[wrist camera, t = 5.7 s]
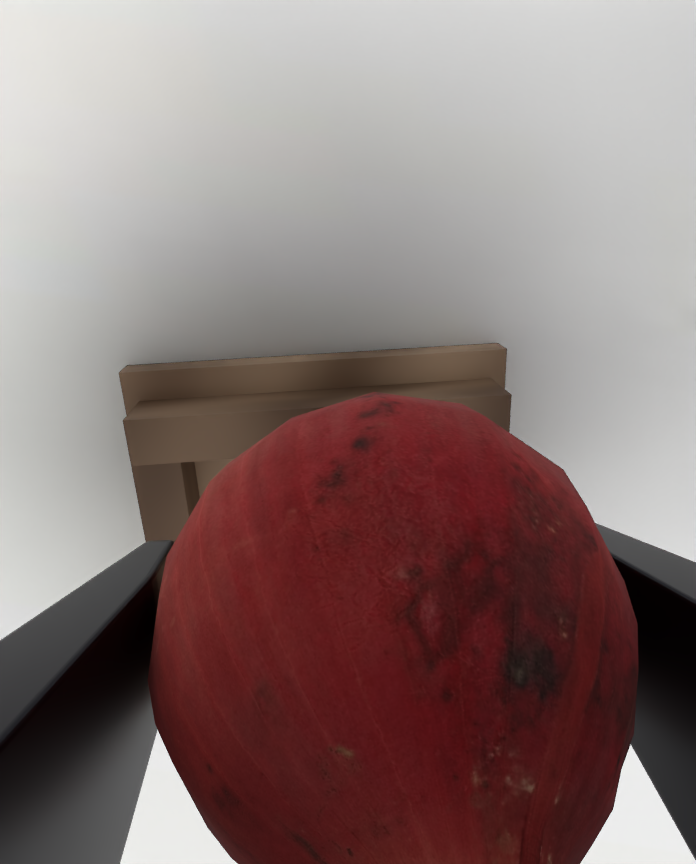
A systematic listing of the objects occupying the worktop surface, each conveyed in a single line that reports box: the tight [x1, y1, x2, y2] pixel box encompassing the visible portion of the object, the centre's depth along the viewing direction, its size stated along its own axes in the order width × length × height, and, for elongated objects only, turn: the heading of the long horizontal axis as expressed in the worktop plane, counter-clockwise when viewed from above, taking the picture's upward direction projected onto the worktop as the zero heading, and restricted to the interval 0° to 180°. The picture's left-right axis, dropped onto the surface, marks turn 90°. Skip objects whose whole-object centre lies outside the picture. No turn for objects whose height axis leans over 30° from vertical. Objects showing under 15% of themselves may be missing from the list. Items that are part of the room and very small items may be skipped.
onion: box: [148, 392, 638, 864], centre depth 7 cm, size 6×6×8 cm
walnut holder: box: [119, 343, 511, 542], centre depth 21 cm, size 13×14×3 cm
